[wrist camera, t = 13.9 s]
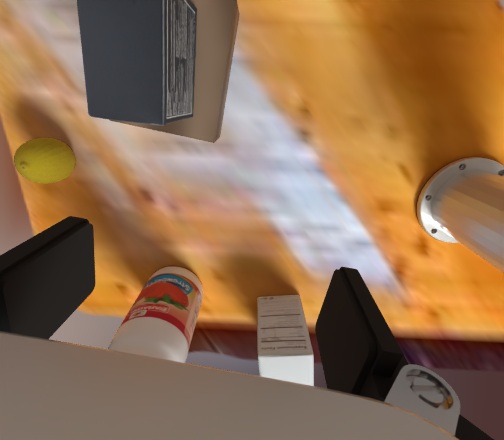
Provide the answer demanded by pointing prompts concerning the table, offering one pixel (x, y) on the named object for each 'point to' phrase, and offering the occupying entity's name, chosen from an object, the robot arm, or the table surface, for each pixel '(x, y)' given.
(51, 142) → the lemon
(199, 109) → the walnut block
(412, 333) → the table surface
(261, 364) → the supplement box
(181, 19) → the small box
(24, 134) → the table surface
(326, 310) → the robot arm
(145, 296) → the fruit juice
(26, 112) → the table surface
